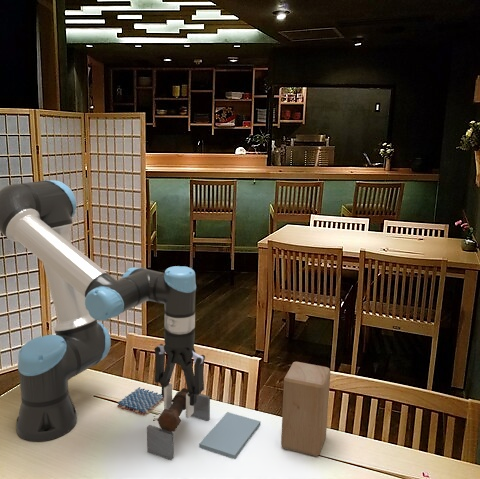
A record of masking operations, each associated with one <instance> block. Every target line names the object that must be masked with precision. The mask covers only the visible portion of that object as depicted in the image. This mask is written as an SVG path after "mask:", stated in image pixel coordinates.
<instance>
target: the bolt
mask: <svg viewBox="0 0 480 479" xmlns="http://www.w3.org/2000/svg"><path fill="white" fill-rule="evenodd" d="M187 393H188V388H187V387H186V388H185V387H182V389H181V390H180V391H177V392H176V393H175V395H174V396H173V397H172V405H171V407H170V408H169V409H164V408H163V410H162V412H161V414H160V415H159V416H158V418H157V423H158V425H159V428H161V429H164V430H167V431H170V432H173V433H174V432H175V431H176V430H177V428H179V426H180V424H181V422H182V419H181V417H180V416H181V414H182V413H183V411H186V394H187Z"/></svg>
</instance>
